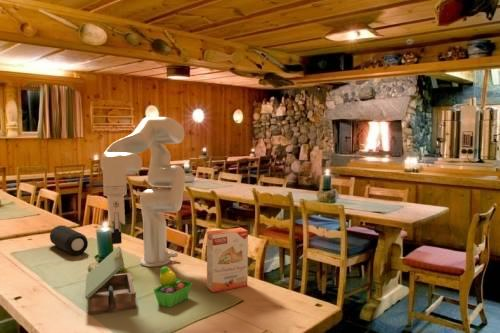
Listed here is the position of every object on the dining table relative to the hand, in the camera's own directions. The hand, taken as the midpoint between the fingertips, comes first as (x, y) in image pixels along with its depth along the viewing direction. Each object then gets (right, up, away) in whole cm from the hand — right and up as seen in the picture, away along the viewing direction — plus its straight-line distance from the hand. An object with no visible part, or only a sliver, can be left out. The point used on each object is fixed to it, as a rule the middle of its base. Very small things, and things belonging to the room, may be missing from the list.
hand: (116, 243), depth 145 cm
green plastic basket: (+20, -19, -5) cm, 28 cm away
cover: (-2, -9, -5) cm, 10 cm away
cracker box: (+38, -17, +7) cm, 42 cm away
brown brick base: (-1, -18, -4) cm, 19 cm away
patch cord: (0, -17, -5) cm, 18 cm away
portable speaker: (-39, -13, +53) cm, 68 cm away
